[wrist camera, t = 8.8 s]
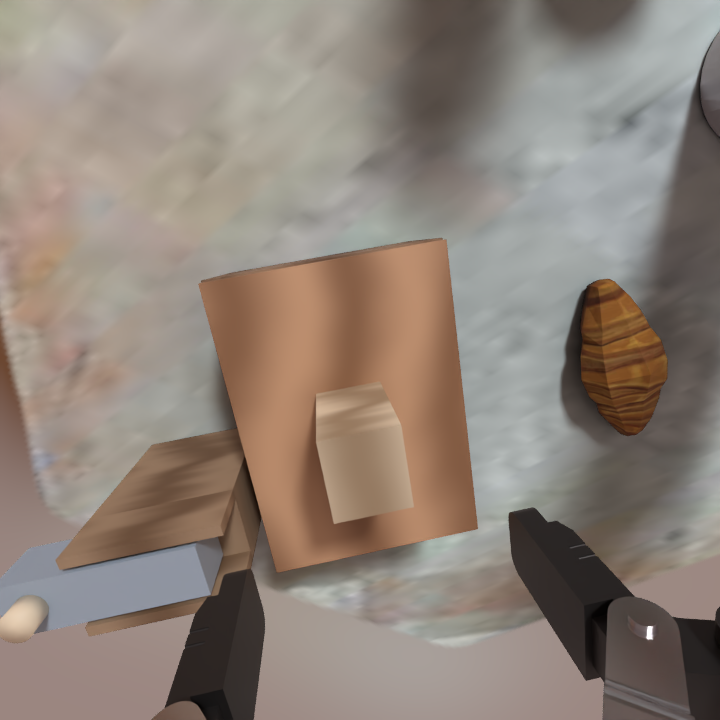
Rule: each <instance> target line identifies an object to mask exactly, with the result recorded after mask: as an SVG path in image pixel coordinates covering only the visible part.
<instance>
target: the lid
mask: <svg viewBox="0 0 720 720" xmlns="http://www.w3.org/2000/svg"><path fill="white" fill-rule="evenodd" d="M199 288H200V292H201V295H202V299H203V303H204V306H205V310H206V314H207V317H208V321H209V325H210V329H211V332H212V336H213V340H214V343H215V347H216V351H217V354H218V358H219V362H220V365H221V369H222V373H223V376H224V380H225V384H226V387H227V391H228V395H229V398H230V402H231V406H232V409H233V413H234V417H235V421H236V424H237V428H238V432H239V435H240V439H241V443H242V446H243V450H244V454H245V457H246V461H247V465H248V468H249V472H250V476H251V479H252V483H253V487H254V490H255V494H256V498H257V501H258V505H259V509H260V512H261V516H262V520H263V524H264V527H265V531H266V535H267V538H268V542H269V546H270V549H271V553H272V557H273V560H274V564H275V568H276V571H277V573H278V572H283V571H288V570H292V569H297V568H301V567H306V566H310V565H315V564H320V563H324V562H329V561H333V560H338V559H343V558H347V557H352V556H356V555H361V554H365V553H370V552H375V551H379V550H384V549H388V548H393V547H398V546H402V545H407V544H411V543H416V542H421V541H425V540H430V539H434V538H439V537H443V536H448V535H453V534H457V533H462V532H466V531H471V530H476V529H478V525H477V516H476V507H475V498H474V488H473V479H472V470H471V461H470V452H469V443H468V433H467V424H466V415H465V406H464V397H463V388H462V379H461V369H460V360H459V351H458V342H457V333H456V324H455V314H454V305H453V296H452V287H451V278H450V269H449V259H448V250H447V241H446V240H438V241H433V242H427V243H421V244H416V245H410V246H405V247H399V248H393V249H388V250H382V251H377V252H371V253H365V254H360V255H354V256H348V257H343V258H337V259H332V260H326V261H320V262H315V263H309V264H303V265H298V266H292V267H287V268H281V269H275V270H270V271H264V272H259V273H253V274H247V275H242V276H236V277H230V278H225V279H219V280H214V281H208V282H203V283H199Z"/></svg>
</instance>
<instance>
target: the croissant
mask: <svg viewBox="0 0 720 720" xmlns="http://www.w3.org/2000/svg"><path fill="white" fill-rule="evenodd" d="M580 330H581V334H582V345H581V379H582V382H583V384H584V386H585V388H586V391H587V393H588V395H589V397H590V398H591V399H592V400H594V401H595V402H596V404H597V407H598V411H599V413H600V414H601V415H602V416H603V417H604V418H605V419H606V420H607V421H608V422H609V423H610V424H611V425H612V426H613V427H614V428H615V429H616V430H617V431H618V432H619V433H620V434H622V435H626V436H631V435H636V434H638V433H639V432H641V431H642V430H643V429H644V427H645V426H646V424H647V423H648V422H649V420H650V419H651V417H652V415H653V412H654V410H655V407H656V404H657V402H658V399H659V395H660V389H661V387H662V386H663V384H664V382H665V381H666V379H667V364H668V360H667V357H666V354H665V351H664V348H663V345H662V342H661V339H660V338H659V337H658V336H657V334H656V333H655V332H654V331H653V329H651V328H650V326H649V324H648V322H647V320H646V318H645V316H644V315H643V313H642V312H641V310H640V309H639V307H638V306H637V305H636V303H635V302H634V301H633V300H632V298H631V297H630V296H629V295H628V294H627V293H626V292H625V291H624V290H623V289H622V288H621V287H620V286H619V285H618V284H616V283H615V282H614V281H612V280H610V279H603V280H597V281H595V282H593V283H591V284H589V285H588V286H587V288H586V292H585V297H584V301H583V307H582V315H581V322H580Z"/></svg>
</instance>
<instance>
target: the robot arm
mask: <svg viewBox="0 0 720 720" xmlns="http://www.w3.org/2000/svg"><path fill="white" fill-rule="evenodd" d="M700 92H701V103H702V107H703V111H704V115H705V117H706V119H707V121H708V123H709V125H710V127H711V128H712V129H713V130H714V131H715V133H716V134H717V135H718V136H719V137H720V32H719V33H718V34H717V36H716V37H715V39H714V41H713V43H712V45H711V47H710V49H709V51H708V53H707V56H706V59H705V62H704V66H703V69H702V76H701V83H700ZM509 530H510V542H511V554H512V559H513V562H514V565H515V568H516V570H517V572H518V574H519V576H520V578H521V579H522V581H523V582H524V584H525V586H526V587H527V589H528V590H529V592H530V593H531V595H532V597H533V598H534V600H535V601H536V603H537V604H538V606H539V608H540V609H541V611H542V612H543V614H544V615H545V617H546V619H547V620H548V622H549V623H550V625H551V626H552V628H553V630H554V631H555V633H556V634H557V636H558V637H559V639H560V641H561V642H562V643H563V645H564V647H565V649H566V650H567V652H568V653H569V655H570V656H571V658H572V660H573V661H574V663H575V664H576V666H577V667H578V669H579V670H580V672H581V674H582V675H583V677H584V678H585V680H586V681H587V680H591V679H595V678H599V677H601V678H602V680H603V681H604V695H603V720H720V607H719V608H718V609H717V611H716V618H715V621H712V620H698V619H684V618H676V617H672V616H671V615H670V614H669V613H668V612H667V611H665V610H664V609H663V608H661V607H660V606H658V605H656V604H655V603H653V602H650V601H648V600H645V599H642V598H637V597H635V596H634V595H633V594H632V593H631V592H630V591H629V590H628V589H627V588H626V587H625V586H624V585H623V584H622V582H621V581H620V580H619V579H618V578H617V577H616V576H615V575H614V574H613V573H612V572H611V571H610V570H609V568H608V567H607V566H606V565H605V564H604V563H603V562H602V561H601V560H600V559H599V558H598V557H597V556H595V553H594V552H593V551H592V550H591V549H590V548H589V547H588V546H586V545H585V543H584V542H583V541H582V539H581V538H580V537H579V536H578V535H577V534H576V533H575V532H574V531H573V530H572V529H570V528H568V527H566V526H565V525H563V524H561V523H559V522H558V521H553V522H547V521H546V520H545V519H544V518H543V516H542V515H541V514H540V513H539V512H538V511H537V510H536V509H535V508H528V509H523V510H518V511H514V512H510V513H509ZM264 634H265V618H264V612H263V607H262V603H261V600H260V597H259V593H258V589H257V586H256V582H255V579H254V575H253V572H252V570H251V569H245V570H240V571H236V572H231V573H227V574H225V575H224V576H223V579H222V582H221V586H220V590H219V593H218V595H215V596H210V597H207V598H206V600H205V601H204V602H203V604H202V605H201V607H200V608H199V609H198V611H197V612H196V613H195V616H194V619H193V622H192V626H191V629H190V634H189V635H188V638H187V641H186V644H185V649H184V650H183V653H182V656H181V660H180V662H179V665H178V669H177V672H176V675H175V678H174V681H173V684H172V687H171V690H170V693H169V696H168V700H167V702H166V705H165V708H164V709H163V710H162V711H160V712H159V713H158V714H157V715H156V716H154V717H153V718H152V720H253V719H254V712H255V704H256V696H257V689H258V681H259V672H260V665H261V657H262V649H263V641H264Z"/></svg>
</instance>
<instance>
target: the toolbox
mask: <svg viewBox="0 0 720 720" xmlns="http://www.w3.org/2000/svg"><path fill="white" fill-rule="evenodd" d="M438 240H443V239H442V238H436V239H426V240H416V241H408V242H402V243H397V244H391V245H385V246H380V247H374V248H368V249H363V250H357V251H352V252H346V253H340V254H335V255H329V256H323V257H318V258H312V259H306V260H301V261H295V262H290V263H284V264H278V265H273V266H267V267H261V268H256V269H250V270H244V271H239V272H233V273H229V274H225V275H221V276H217V277H213V278H210V279H206V280H202V281H201V282H202V283H203V282H208V281H214V280H219V279H225V278H230V277H236V276H242V275H247V274H253V273H259V272H264V271H270V270H275V269H281V268H287V267H292V266H298V265H303V264H309V263H315V262H320V261H326V260H332V259H337V258H343V257H348V256H354V255H360V254H365V253H371V252H377V251H382V250H388V249H393V248H399V247H405V246H410V245H416V244H421V243H427V242H433V241H438ZM261 517H262V516H261V512H260V509H259V505H258V501H257V498H256V494H255V490H254V487H253V483H252V479H251V476H250V472H249V468H248V465H247V461H246V457H245V454H244V450H243V446H242V443H241V439H240V435H239V432H238V428H235V429H230V430H225V431H220V432H215V433H210V434H205V435H200V436H195V437H190V438H184V439H179V440H174V441H169V442H164V443H159V444H154V445H152V446H151V447H150V448H149V449H148V451H147V452H146V453H145V454H144V455H143V456H142V458H141V459H140V460H139V461H138V462H137V464H136V465H135V466H134V467H133V468H132V470H131V471H130V472H129V473H128V474H127V475H126V477H125V478H124V479H123V480H122V481H121V483H120V484H119V485H118V486H117V487H116V488H115V490H114V491H113V492H112V493H111V494H110V496H109V497H108V498H107V499H106V500H105V502H104V503H103V504H102V505H101V506H100V507H99V509H98V510H97V511H96V512H95V513H94V515H93V516H92V517H91V518H90V519H89V521H88V522H87V523H86V524H85V525H84V526H83V528H82V529H81V530H80V531H79V533H78V534H77V535H76V536H75V537H74V538H73V540H72V541H71V542H70V543H69V544H68V545H67V547H66V548H65V549H64V550H63V551H62V553H61V554H60V555H59V556H58V557H57V558H56V560H55V561H56V563H57V565H58V567H59V570H63V569H67V568H72V567H77V566H81V565H86V564H91V563H96V562H100V561H105V560H110V559H115V558H119V557H124V556H129V555H133V554H138V553H143V552H148V551H152V550H157V549H162V548H167V547H171V546H176V545H181V544H185V543H190V542H195V541H200V540H204V539H209V538H214V537H218V539H219V542H220V545H221V549H222V552H223V557H222V560H221V563H220V567H219V570H218V573H217V576H216V580H215V583H214V586H213V589H212V593H211V595H208V596H204V597H199V598H195V599H190V600H185V601H181V602H176V603H172V604H167V605H163V606H158V607H154V608H149V609H144V610H140V611H135V612H131V613H126V614H122V615H117V616H112V617H108V618H103V619H99V620H94V621H90V622H88V624H87V625H86V627H85V628H86V631H87V633H88V635H89V636H94V635H98V634H103V633H108V632H112V631H117V630H121V629H126V628H130V627H135V626H139V625H143V624H148V623H152V622H157V621H162V620H166V619H171V618H175V617H179V616H184V615H189V614H193V613H196V612H197V611H198V609H199V608H200V607H201V605H202V604H203V602H204V601H205V600H206V598H207V597H210V596H215V595H218V593H219V590H220V586H221V582H222V579H223V576H224V575H225V574H227V573H231V572H236V571H240V570H245V569H251V566H252V561H253V556H254V551H255V546H256V541H257V536H258V531H259V526H260V522H261Z"/></svg>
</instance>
